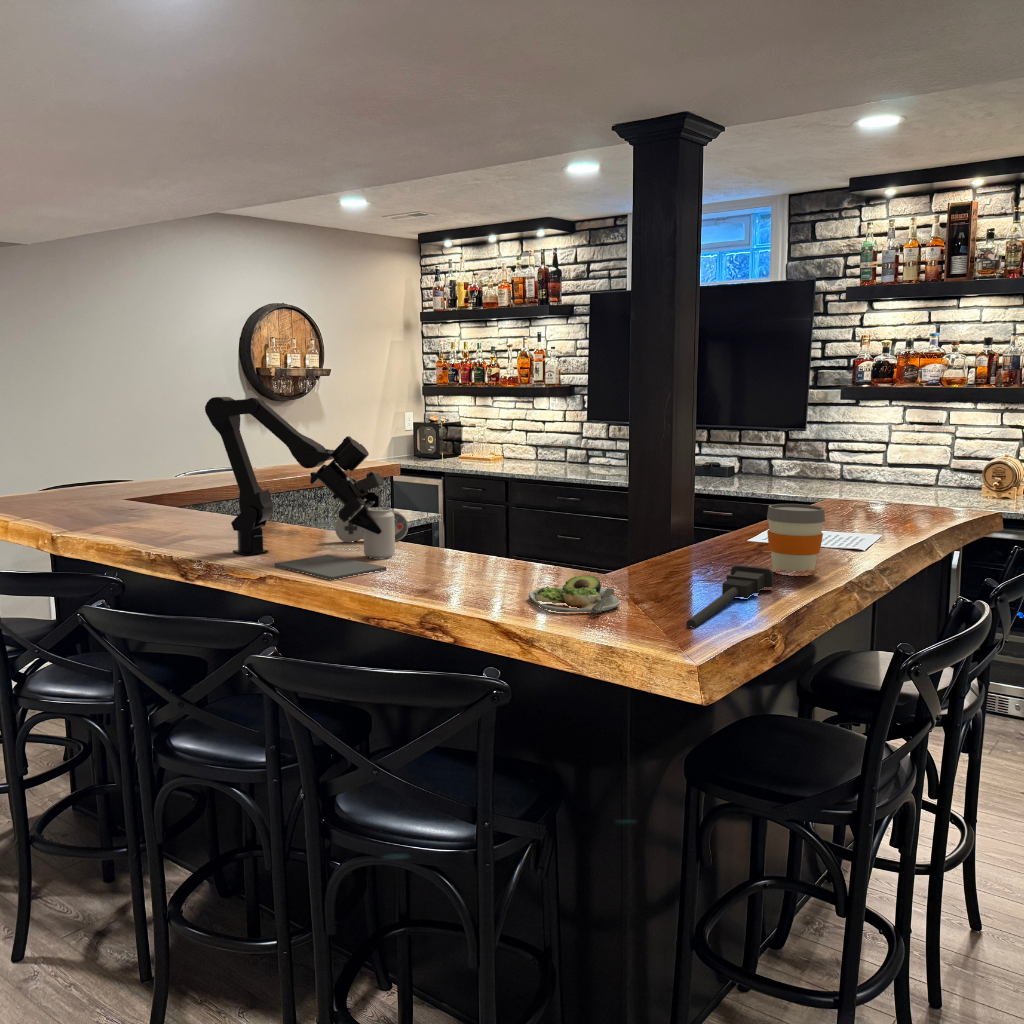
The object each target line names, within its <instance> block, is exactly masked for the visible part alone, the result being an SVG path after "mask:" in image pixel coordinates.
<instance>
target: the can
mask: <svg viewBox="0 0 1024 1024" xmlns="http://www.w3.org/2000/svg"><path fill="white" fill-rule="evenodd" d="M391 511H393V509H392V508H391V507H381V506H380V507H376V508H369V514H370V515H371V517H372V518H373V519H374V521H375V522H376V523H377V525H378V526H379V528H380V529H381V531H382V532H381V533H380V534H376V533H374V532H371V531H369V530H367V529H364V539H363V554H364V556H366V557H367V558H368V557H371V558H386V559H390V558H392V557H393V556H394V555H395V553H396V547H395V546H396V545H395V544H396V541H395V517H394V514H393V513H392V512H391ZM371 558H370V559H371Z"/></svg>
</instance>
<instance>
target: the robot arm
mask: <svg viewBox="0 0 1024 1024" xmlns="http://www.w3.org/2000/svg"><path fill="white" fill-rule="evenodd" d="M204 412H205V414H206V416H207V418H208V420H209V422H210V424H211V425H212V427H213V428H214V429H215V430H216V432H217V433H218V434H219V436H220V437H221V440H222V444H223V446H224V448H225V452H226V454H227V457H228V461H229V463H230V466H231V470H232V472H233V476H234V478H235V482H236V484H237V487H238V492H239V494H238V507H239V512H240V513H239V514H238V515H237V516H236V517H235V518H234V519H233V520H232V521H231V523H230V524H231V527H232V530H233V531H236V532H237V549H235V550H234V549H233V550H232V553H234V554H237V555H242V556H252V555H259V554H265V553H269V550H268V549H265V548H264V538H263V537H264V535H263V528H262V527H265V526H266V524H267V521H268V520H269V519H270V518H271V517H272V514H273V513H274V508H273V507H274V505H275V502H273V499H272V498H271V492H270V490H269V489H265V490H263V489H262V487H261V486H260V485H259V483H258V480H257V478H256V477H257V476H256V474H255V471H254V468H253V465H252V463H251V460H250V457H249V454H248V451H247V448H246V444H245V442H244V439H243V436H242V434H241V415H251V416H252V417H253V418H254V419H256V420H257V421H258V422H259V423H260V424H261V425H262V426H264V427H265V428H266V429H267V430H268V431H269V432H270V433H272V434H273V435H274V436H275V437H276V438H277V439H279V441H281V442H282V443H283V444H284V445H285V446H286V447H287V448H288V450H289V451H290V453H291V455H292V457H293V458H294V459H295V460H296V462H297V464H298V465H300V466H301V467H302V468H304V469H313V468H318V467H319V469H317V471H316V472H315V471H313V472H310V481H309V483H310V485H314V484H316V483H318V482H319V481H320V482H321V484H322V485H323V486H325V488H326V489H328V490H329V492H330V493H332V495H331V497H332V499H333V500H338V501H339V502H340V503H341V504H342V505H343V507H341V509H339V511H338V518H340V519H341V520H342V521H343V522H346V521H348V520H349V517H351V518H352V519H351V520H350V521H349V522H348V523H351V524H354V525H356V526H359V527H362V528H364V529H367V530H369V531H371V532H374V533H376V534H380V533H381V532H382V531H381V529H380V528H379V526H378V525H377V523H376V522H375V521H374V519H373V518H372V517H371V515H370V514H369V508H376V507H381V501H382V497H383V495H382V494H381V493H380V492H379V491H378V490H372V489H376V488H378V487H380V486H383V485H384V482H383V480H382V479H383V476H382V475H380V473H379V472H376V471H374V470H373V471H370V472H368V473H366V477H365V478H363V479H360V480H358V479H356V478H354V477H353V478H351V477H350V476H349V475H348V474H347V473H346V472H347V471H350V472H353V471H354V470H356V469H357V468H358V467H359V465H361V464H362V463H363V462H364V461H365V459H366V458H367V457H368V456H369V455H370V454H369V451H368V449H367V448H365V446H364V445H363V444H362V443H359V442H358V441H357V440H355V439H353V438H352V437H351V436H350V435H349V436H348V435H347V436H346V437H345V438H343V440H342V441H341V443H340V444H339V445H338V446H337V447H335V449H327V448H325V446H324V445H322V444H320V443H319V442H318V441H315V440H314V439H313V438H310V437H307V436H306V435H304V434H302V433H300V432H299V430H297V429H295V427H293V426H292V425H291V424H290V423H289V422H288V421H286V420H285V419H284V418H283V417H282V416H280V414H279V413H277V412H276V411H275V410H274V409H273V408H272V407H270V405H268V404H267V403H266V402H265V400H264V399H263V398H260V397H249V398H247V399H234V398H232V397H230V396H214V397H211V398H210V399H208V401H207V402H206V404H205V406H204ZM330 460H331V462H329V463H328V464H325V463H326V462H327V461H330Z"/></svg>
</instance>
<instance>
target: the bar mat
mask: <svg viewBox="0 0 1024 1024" xmlns="http://www.w3.org/2000/svg"><path fill="white" fill-rule="evenodd" d="M273 565H274V566H275V567H276V568H278V567H280V568H279V569H282V568H285V569H284V570H286V569H290V570H294V571H299V572H304V573H308V574H312V575H315V576H319V577H323V578H327V579H331V580H334V579H339V578H343V577H348V576H353V575H358V574H363V573H369V572H375V571H381V570H386V571H387V566H382V565H379V564H373V563H369V562H364V561H359V560H356V559H351V558H345V557H341V556H336V555H332V554H325V555H324V554H323V555H322V554H321V555H317V556H311V557H310V556H309V557H305V558H299V559H292V560H287V561H286V560H285V561H280V562H274V564H273ZM275 567H274V568H275ZM290 570H289V571H290ZM294 571H293V572H294ZM299 572H298V573H299ZM381 572H382V571H381ZM315 576H314V577H315ZM319 577H318V578H319ZM323 578H322V579H323ZM327 579H326V580H327ZM331 580H330V581H331ZM339 580H340V579H339ZM334 581H335V580H334Z"/></svg>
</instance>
